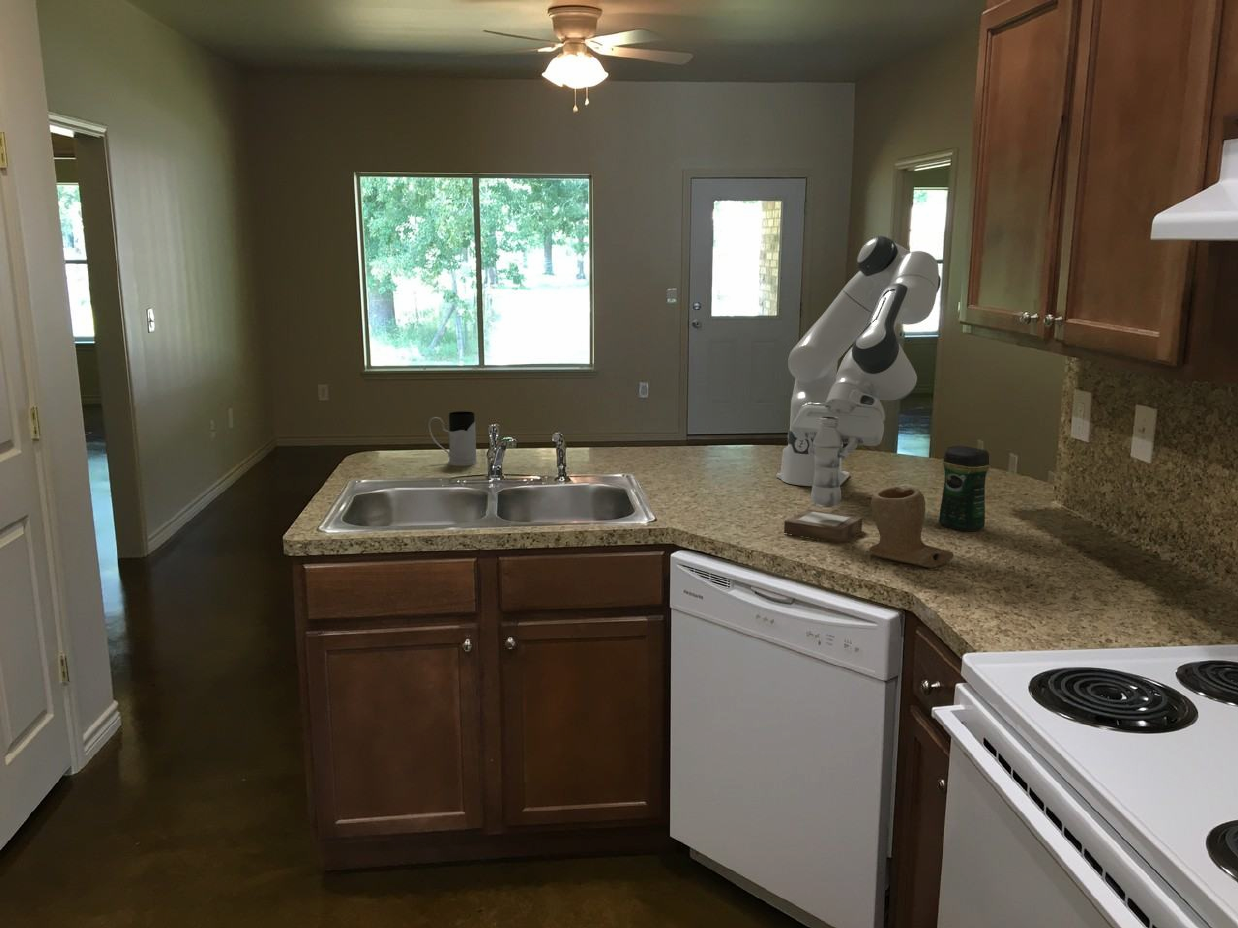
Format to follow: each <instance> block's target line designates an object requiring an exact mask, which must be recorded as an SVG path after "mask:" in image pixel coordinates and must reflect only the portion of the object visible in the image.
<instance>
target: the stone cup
mask: <svg viewBox="0 0 1238 928" xmlns="http://www.w3.org/2000/svg"><path fill="white" fill-rule="evenodd" d="M870 505H871V512H872V516H873V519H874V523H875V525H876V528H877V530H878V534H879V536H880V537H879V542H878V543H876V544H874V545H872V546H870V548H869V550H868V551H869V553H870V554H871V555H874V556H876V557H879V558H882V559H887V560H891V561H896V562H900V563H906V564H909V565H915V566H920V567H925V568H930V569H931V568H936V567H941V566H942V565H944V564H946V563H949V561H951V560H952V559H953V558H954V552H953V551H949V550H945V549H941V548H938V547H934V546H929V545H926V544H925V543H924V542H923V541H922V530H923V527H924V522H925V521H924V520H925V517H926V500H925V497H924V494H923V493H922V492H921V491H920V490H919V489H918V488H916V487H912V486H911V487H906V488H903V487H899V486H898V487H897V486H892V487H886V488H883V489H880V490H878V491H876V492H875V493H874V494H873V495H872V497H871V502H870Z"/></svg>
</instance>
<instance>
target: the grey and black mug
mask: <svg viewBox="0 0 1238 928" xmlns="http://www.w3.org/2000/svg"><path fill="white" fill-rule="evenodd" d="M435 419H438V420H439V421H440V422H441V424H442V430H443V431H444V432H446V433H448V448H449V450H447V449H446V448H444V447H443V446H442V445H440V444H439V442H438V441H437V440H436V439H435V437H434V436H433V433H432V429H431V422H432V420H435ZM448 427H449V428H448V429H449V430H446V428H445V423H444V421H443V419H442V418H440V417H438V416H434V417H432V418H430V420H429V423H428V431H429V433H430V436H431V439H432V440H433V442H434V443H435V444H436V445H437V446H438V447H439V448H441V449H442V450H443V451H444V452H446V453H447V455H448V458H449V460H448V462H447V463H448V465H451V466H457V467H458V466H459V467H461V466H462V467H463V466H465V467H467V466H473V465H477V464H478V463H479V462H478V460H477V445H476V443H477V442H476V440H477V439H476V438H477V437H476V436H477V435H476V434H477V433H476V420H475V412H473V411H464V410H463V411H462V410H460V411H451V412H448Z"/></svg>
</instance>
